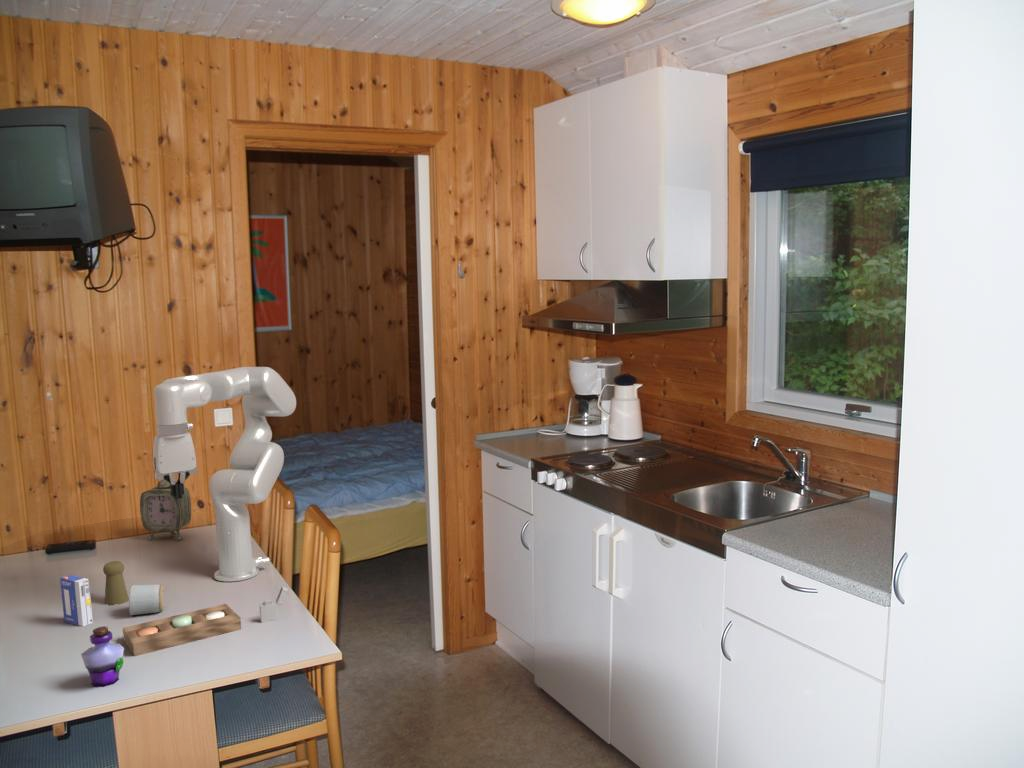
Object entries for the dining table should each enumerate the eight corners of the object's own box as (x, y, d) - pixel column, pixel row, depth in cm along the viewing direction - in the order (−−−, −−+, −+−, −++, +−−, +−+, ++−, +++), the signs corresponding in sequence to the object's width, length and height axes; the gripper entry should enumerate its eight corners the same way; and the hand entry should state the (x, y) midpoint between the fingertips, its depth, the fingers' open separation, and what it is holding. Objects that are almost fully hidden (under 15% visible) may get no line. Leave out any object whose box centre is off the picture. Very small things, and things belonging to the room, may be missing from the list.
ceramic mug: (163, 615, 230) (161, 586, 230) (129, 619, 228) (127, 590, 227) (167, 602, 241) (165, 574, 240) (135, 606, 238) (132, 578, 238)
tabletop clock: (142, 541, 298) (136, 469, 295) (157, 533, 307) (151, 463, 304) (182, 542, 296) (176, 469, 293) (196, 534, 305) (190, 463, 302)
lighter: (261, 622, 223) (259, 592, 222) (260, 620, 225) (258, 590, 224) (289, 617, 226) (287, 587, 225) (288, 615, 228) (286, 585, 227)
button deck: (226, 614, 229) (225, 603, 229) (241, 629, 219) (240, 617, 219) (123, 639, 215) (122, 627, 215) (134, 656, 205) (133, 643, 205)
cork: (119, 605, 239) (115, 566, 237) (99, 604, 240) (96, 565, 238) (133, 597, 244) (129, 559, 243) (113, 596, 246) (110, 558, 244)
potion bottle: (124, 686, 190) (119, 633, 188) (80, 693, 187) (74, 639, 186) (129, 669, 198) (124, 618, 197) (87, 676, 196) (82, 624, 194)
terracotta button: (156, 635, 216) (155, 625, 216) (160, 640, 212) (159, 631, 212) (136, 639, 213) (136, 630, 213) (141, 645, 210) (140, 636, 209)
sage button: (189, 623, 220) (188, 613, 220) (194, 628, 217) (193, 619, 216) (171, 627, 218) (170, 618, 217) (175, 633, 214) (174, 623, 214)
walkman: (64, 621, 228) (59, 576, 227) (74, 617, 231) (69, 573, 229) (83, 626, 224) (78, 581, 223) (93, 622, 227) (88, 577, 225)
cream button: (221, 619, 225) (221, 610, 224) (227, 624, 221) (226, 615, 221) (204, 623, 222) (203, 614, 222) (209, 628, 219) (208, 619, 218)
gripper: (197, 425, 241) (202, 490, 243) (139, 431, 232) (145, 500, 234) (205, 428, 234) (210, 495, 237) (145, 435, 226) (151, 505, 228)
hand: (178, 497), depth 235 cm, fingers closed
